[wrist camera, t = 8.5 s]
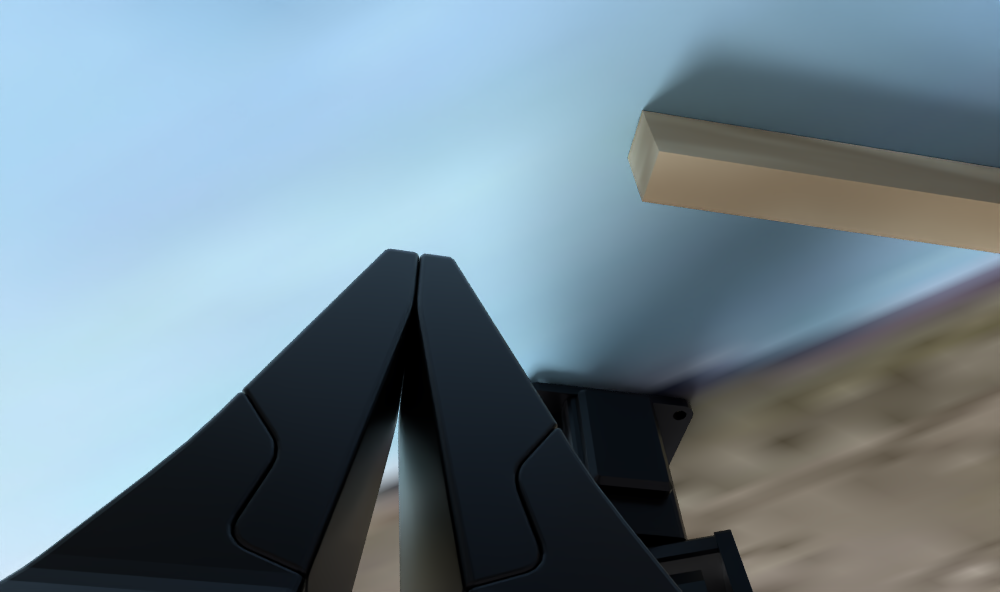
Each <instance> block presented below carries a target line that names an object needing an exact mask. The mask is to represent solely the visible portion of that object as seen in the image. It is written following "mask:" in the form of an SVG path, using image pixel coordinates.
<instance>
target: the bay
mask: <svg viewBox="0 0 1000 592" xmlns="http://www.w3.org/2000/svg"><path fill="white" fill-rule="evenodd" d="M628 161H629V164H630V167H631V170H632V173H633V176H634V179H635V182H636V184H637V187H638V190H639V193H640V196H641V199H642V201H643V202H650V203H656V204H663V205H670V206H677V207H684V208H691V209H698V210H704V211H711V212H718V213H725V214H732V215H739V216H746V217H752V218H759V219H766V220H773V221H780V222H787V223H794V224H801V225H807V226H814V227H821V228H828V229H835V230H842V231H849V232H855V233H862V234H869V235H876V236H883V237H890V238H897V239H903V240H910V241H917V242H924V243H931V244H938V245H945V246H952V247H958V248H965V249H972V250H979V251H986V252H993V253H1000V168H995V167H989V166H983V165H977V164H971V163H965V162H958V161H952V160H946V159H940V158H934V157H927V156H921V155H915V154H909V153H903V152H896V151H890V150H884V149H878V148H872V147H865V146H859V145H853V144H847V143H841V142H835V141H828V140H822V139H816V138H810V137H804V136H797V135H791V134H785V133H779V132H773V131H766V130H760V129H754V128H748V127H742V126H735V125H729V124H723V123H717V122H711V121H705V120H698V119H692V118H686V117H680V116H674V115H667V114H661V113H655V112H649V111H643V110H642V113H641V116H640V119H639V123H638V126H637V129H636V132H635V135H634V139H633V142H632V145H631V148H630V151H629V155H628Z"/></svg>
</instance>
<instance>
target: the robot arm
mask: <svg viewBox="0 0 1000 592" xmlns="http://www.w3.org/2000/svg"><path fill="white" fill-rule="evenodd" d="M401 391H402V393H401ZM539 395H540V396H539ZM400 398H401V401H400ZM399 405H400V410H399ZM398 411H399V425H398V459H399V538H400V592H753V591H752V588H751V585H750V582H749V580H748V577H747V574H746V571H745V569H744V566H743V563H742V560H741V557H740V555H739V552H738V549H737V546H736V543H735V541H734V538H733V535H732V532H731V530H724V531H719V532H714V535H713V536H707V537H701V538H696V539H690V540H687V536H686V532H685V528H684V524H683V520H682V516H681V512H680V508H679V504H678V500H677V496H676V492H675V489H674V485H673V481H672V477H671V473H670V469H669V464H670V462H671V460H672V458H673V456H674V454H675V452H676V450H677V448H678V445H679V443H680V441H681V439H682V437H683V435H684V433H685V431H686V429H687V427H688V425H689V423H690V421H691V419H692V416H693V411H692V408H691V405H690V402H689V401H687V400H685V399H682V398H673V397H664V396H655V395H646V394H637V393H628V392H619V391H610V390H602V389H593V388H584V387H575V386H566V385H557V384H548V383H539V382H536V383H531V381H530V380H529V378H528V377H527V375H526V373H525V372H524V370H523V369H522V367H521V365H520V364H519V362H518V361H517V359H516V358H515V356H514V354H513V353H512V351H511V350H510V348H509V346H508V345H507V343H506V342H505V340H504V338H503V337H502V335H501V334H500V332H499V330H498V329H497V327H496V326H495V324H494V323H493V321H492V319H491V318H490V316H489V315H488V313H487V311H486V310H485V308H484V307H483V305H482V303H481V302H480V300H479V299H478V297H477V295H476V294H475V292H474V291H473V289H472V288H471V286H470V284H469V283H468V281H467V280H466V278H465V276H464V275H463V273H462V272H461V270H460V268H459V267H458V265H457V264H456V262H455V261H454V259H452V258H451V257H446V256H439V255H431V254H423V255H421V257H420V259H419V256H418V254H417V253H415V252H410V251H403V250H396V249H387V250H385V251H384V252H383V253H382V254H381V255H380V256H379V257H378V258H377V259H376V260H375V261H374V262H373V263H372V264H371V265H370V266H369V267H368V268H367V269H366V270H365V271H363V272H362V273H361V274H360V275H359V276H358V277H357V278H356V279H355V280H354V281H353V282H352V283H351V284H350V285H349V286H348V287H347V288H346V289H345V290H344V291H343V292H342V293H341V294H340V295H339V296H338V297H337V298H336V299H335V300H334V301H333V302H332V303H331V304H330V305H329V306H328V307H327V308H326V309H325V310H323V311H322V312H321V313H320V314H319V315H318V316H317V317H316V318H315V319H314V320H313V321H312V322H311V323H310V324H309V325H308V326H307V327H306V328H305V329H304V330H303V331H302V332H301V333H300V334H299V335H298V336H297V337H296V338H295V339H294V340H293V341H292V342H291V343H290V344H289V345H288V346H287V347H286V348H285V349H284V350H282V351H281V352H280V353H279V354H278V355H277V356H276V357H275V358H274V359H273V360H272V361H271V362H270V363H269V364H268V365H267V366H266V367H265V368H264V369H263V370H262V371H261V372H260V373H259V374H258V375H257V376H256V377H255V378H254V379H253V380H252V381H251V382H250V383H249V384H248V385H247V386H246V387H245V388H244V389H243V391H242V392H241V393H238V394H237V395H236V396H235V397H234V398H233V399H232V400H231V401H230V402H229V403H228V404H227V405H226V406H225V407H224V408H223V409H222V410H221V411H220V412H219V413H217V414H216V415H215V416H214V417H213V418H212V419H211V420H210V421H209V422H208V423H206V424H205V425H204V426H203V427H202V428H201V429H200V430H199V431H198V432H197V433H196V434H194V435H193V436H192V437H191V438H190V439H189V440H188V441H187V442H185V443H184V444H183V445H182V446H180V447H179V448H178V449H177V450H175V451H174V452H173V453H172V454H171V455H169V456H168V457H167V458H166V459H164V460H163V461H162V462H161V463H159V464H158V465H157V466H156V467H154V468H153V469H152V470H151V471H149V472H148V473H147V474H146V475H144V476H143V477H142V478H140V479H139V480H138V481H136V482H135V483H134V484H133V485H131V486H130V487H129V488H127V489H126V490H125V491H123V492H122V493H121V494H119V495H118V496H117V497H115V498H114V499H113V500H112V501H110V502H109V503H108V504H106V505H105V506H104V507H102V508H101V509H100V510H98V511H97V512H96V513H95V514H93V515H92V516H91V517H89V518H88V519H87V520H85V521H84V522H83V523H81V524H80V525H79V526H77V527H76V528H75V529H74V530H72V531H71V532H70V533H68V534H67V535H66V536H64V537H63V538H62V539H60V540H59V541H58V542H56V543H55V544H54V545H53V546H51V547H50V548H49V549H47V550H46V551H45V552H43V553H42V554H41V555H39V556H38V557H36V558H35V559H34V560H32V561H31V562H29V563H28V564H27V565H25V566H24V567H22V568H21V569H19V570H18V571H16V572H14V573H13V574H11V575H9V576H8V577H6V578H5V579H3V580H1V581H0V592H352V589H353V585H354V581H355V578H356V574H357V570H358V566H359V563H360V559H361V555H362V551H363V548H364V544H365V540H366V537H367V533H368V529H369V525H370V522H371V518H372V514H373V510H374V507H375V503H376V499H377V495H378V492H379V488H380V484H381V481H382V477H383V473H384V469H385V466H386V462H387V458H388V454H389V451H390V447H391V443H392V439H393V435H394V431H395V427H396V423H397V417H398ZM677 411H680V412H677Z"/></svg>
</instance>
